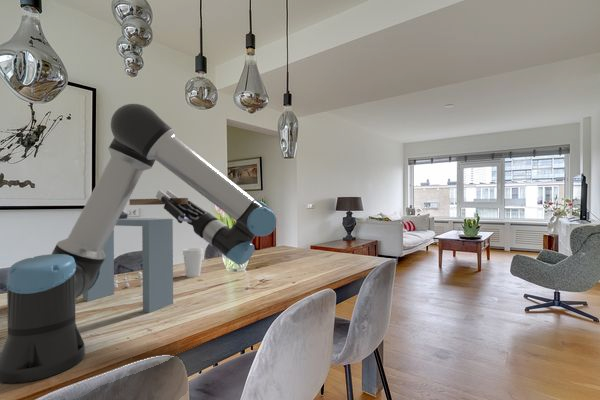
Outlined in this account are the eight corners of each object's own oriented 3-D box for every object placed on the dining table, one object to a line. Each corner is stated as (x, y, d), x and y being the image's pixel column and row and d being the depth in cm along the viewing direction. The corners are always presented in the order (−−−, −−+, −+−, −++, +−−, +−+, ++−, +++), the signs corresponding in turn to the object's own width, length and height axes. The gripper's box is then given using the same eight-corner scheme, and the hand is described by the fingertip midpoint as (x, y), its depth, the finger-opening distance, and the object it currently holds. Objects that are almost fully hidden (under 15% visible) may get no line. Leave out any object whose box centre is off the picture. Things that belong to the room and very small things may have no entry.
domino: (115, 215, 113) (98, 204, 117) (114, 219, 113) (97, 208, 117) (127, 214, 117) (111, 204, 121) (126, 218, 118) (110, 207, 121)
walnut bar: (181, 204, 102) (181, 197, 102) (129, 204, 111) (129, 199, 111) (188, 204, 104) (187, 198, 104) (137, 204, 114) (136, 199, 114)
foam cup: (178, 277, 151) (178, 250, 151) (190, 273, 160) (190, 247, 160) (195, 278, 148) (195, 250, 148) (207, 274, 157) (206, 248, 157)
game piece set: (126, 277, 153) (126, 269, 153) (166, 278, 151) (166, 270, 151) (97, 288, 134) (97, 279, 134) (142, 289, 132) (142, 280, 132)
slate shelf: (149, 312, 102) (148, 220, 103) (82, 300, 116) (82, 219, 116) (173, 303, 112) (172, 218, 112) (109, 293, 125) (108, 217, 125)
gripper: (187, 242, 92) (138, 203, 100) (222, 236, 107) (176, 202, 115) (197, 220, 91) (146, 182, 99) (231, 217, 105) (184, 184, 114)
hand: (162, 193), depth 107 cm, fingers closed on walnut bar, 3 cm apart
